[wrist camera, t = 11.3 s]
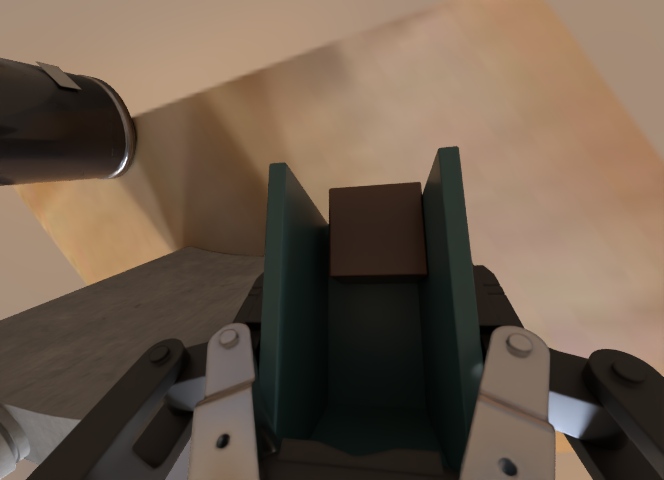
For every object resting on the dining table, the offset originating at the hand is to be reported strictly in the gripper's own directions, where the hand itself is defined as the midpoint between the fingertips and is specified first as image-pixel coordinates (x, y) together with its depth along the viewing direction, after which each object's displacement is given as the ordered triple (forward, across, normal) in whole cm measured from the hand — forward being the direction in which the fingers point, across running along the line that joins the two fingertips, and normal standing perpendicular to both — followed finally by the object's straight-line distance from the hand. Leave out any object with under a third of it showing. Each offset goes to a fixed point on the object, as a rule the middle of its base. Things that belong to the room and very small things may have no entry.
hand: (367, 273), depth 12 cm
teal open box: (+2, 0, +4) cm, 5 cm away
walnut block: (+4, 0, +1) cm, 4 cm away
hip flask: (+12, +13, +8) cm, 19 cm away
